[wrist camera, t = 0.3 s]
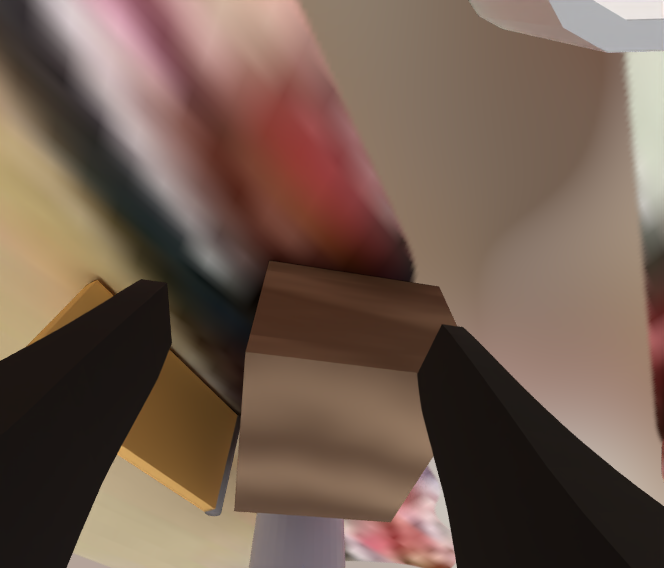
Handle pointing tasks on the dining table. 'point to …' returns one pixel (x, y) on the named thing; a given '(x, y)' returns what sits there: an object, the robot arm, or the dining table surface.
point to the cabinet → (335, 394)
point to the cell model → (662, 460)
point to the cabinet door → (173, 423)
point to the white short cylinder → (582, 21)
